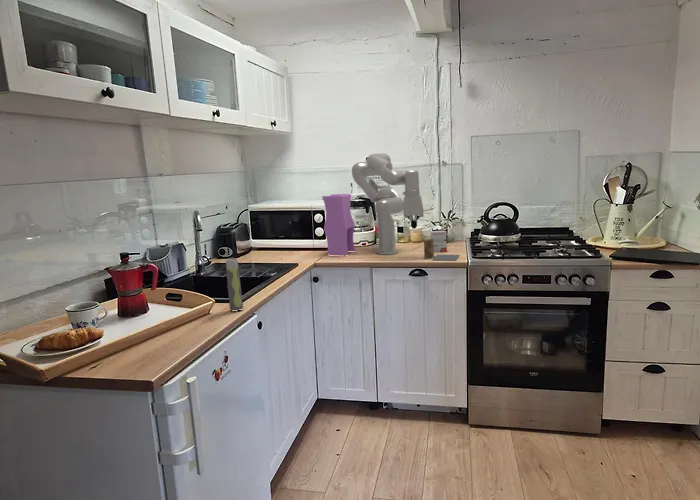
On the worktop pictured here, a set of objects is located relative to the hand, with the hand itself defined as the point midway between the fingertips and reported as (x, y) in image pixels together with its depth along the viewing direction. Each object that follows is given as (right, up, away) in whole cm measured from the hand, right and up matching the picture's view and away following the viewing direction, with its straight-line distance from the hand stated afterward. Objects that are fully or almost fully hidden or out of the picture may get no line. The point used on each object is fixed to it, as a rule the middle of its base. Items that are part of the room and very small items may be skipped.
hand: (414, 228), depth 256 cm
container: (-40, -14, +27) cm, 50 cm away
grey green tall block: (-77, -35, -77) cm, 114 cm away
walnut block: (+8, -16, 0) cm, 18 cm away
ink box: (+16, -13, +17) cm, 27 cm away
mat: (+17, -16, -3) cm, 23 cm away
